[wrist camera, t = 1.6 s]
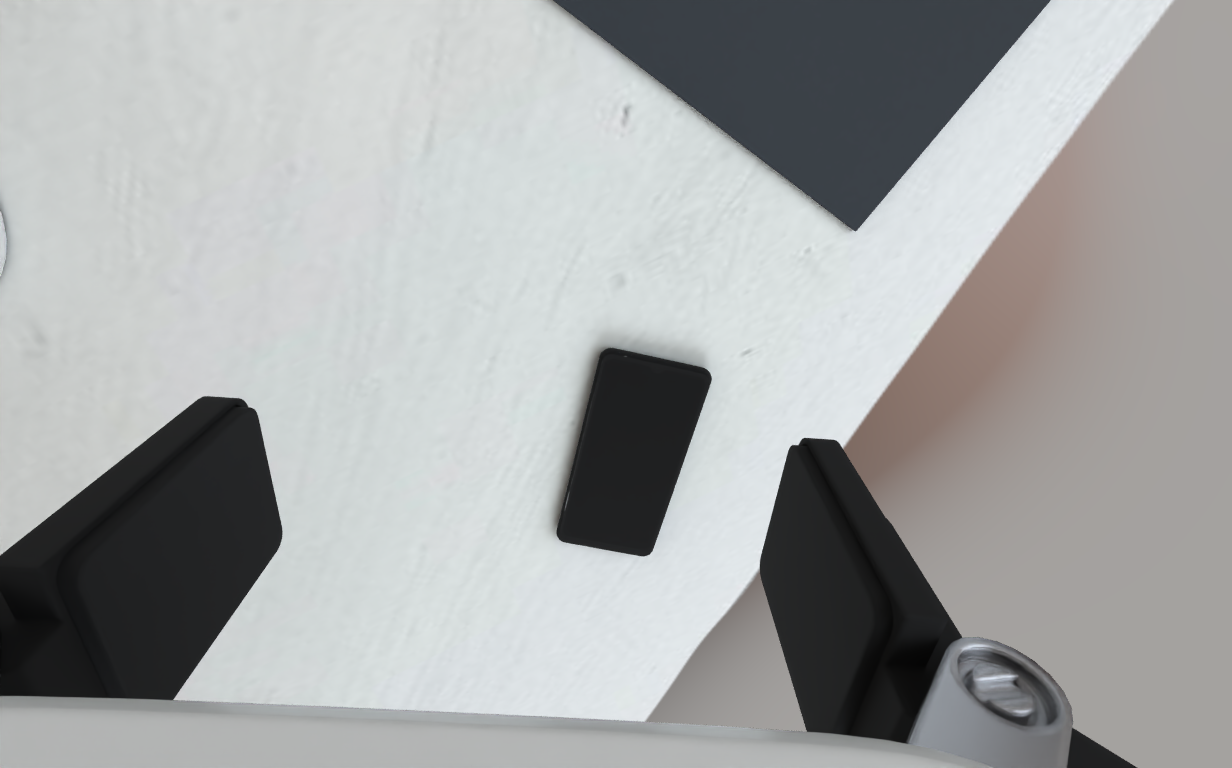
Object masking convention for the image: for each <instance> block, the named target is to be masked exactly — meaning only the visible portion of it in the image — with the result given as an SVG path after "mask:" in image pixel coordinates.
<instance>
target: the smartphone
mask: <svg viewBox="0 0 1232 768" xmlns="http://www.w3.org/2000/svg"><path fill="white" fill-rule="evenodd" d="M711 380H712V378H711V374H710V372H709V371H708V370H707V369H705V368H702V367H698V366H693V365H689V364H684V363H680V362H675V361H670V360H666V359H661V358H657V357H652V356H647V355H643V354H638V353H634V352H629V351H624V350H620V349H615V348H608V349H606V350H604V351H603V352H602V353H601V355H600V357H599V361H598V365H597V369H596V373H595V377H594V381H593V385H592V389H591V393H590V397H589V401H588V405H587V409H586V413H585V418H584V422H583V426H582V430H581V434H580V438H579V442H578V446H577V450H576V454H575V458H574V462H573V466H572V470H571V474H570V478H569V482H568V486H567V491H566V495H565V499H564V503H563V507H562V511H561V515H560V519H559V523H558V528H557V537H558V538H559V540H561V541H562V542H566V543H571V544H577V545H582V546H588V547H593V548H599V549H604V550H610V551H615V552H621V553H626V554H632V555H637V556H647V555H649V554H650V553H651V552H652V551H653V548H654V545H655V542H656V540H657V537H658V534H659V531H660V528H661V525H662V522H663V520H664V517H665V514H666V511H667V508H668V505H669V502H670V499H671V497H672V494H673V491H674V488H675V485H676V482H677V479H678V476H679V474H680V471H681V468H682V465H683V462H684V459H685V456H686V453H687V450H688V448H689V445H690V442H691V439H692V436H693V433H694V430H695V427H696V425H697V422H698V419H699V416H700V413H701V410H702V407H703V404H704V401H705V399H706V396H707V393H708V390H709V387H710V384H711Z"/></svg>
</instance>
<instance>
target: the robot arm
mask: <svg viewBox="0 0 1232 768" xmlns="http://www.w3.org/2000/svg"><path fill="white" fill-rule="evenodd" d="M6 245H7V237H6V232H5V227H4V222H3V217H2V214H1V211H0V276H1V274H2V271H3V267H4V264H5V260H6ZM281 540H282V525H281V521H280V516H279V511H278V507H277V502H276V497H275V493H274V488H273V484H272V479H271V474H270V470H269V465H268V460H267V456H266V451H265V446H264V442H263V437H262V433H261V428H260V423H259V419H258V415H257V412H256V411H255V410H254V409H253V408H248V405H247V404H246V402H245V401H244V400H242V399H239V398H225V397H210V396H205V397H202V398H200V399H198V400H197V401H195V402H194V403H193V404H192V405H190V406H189V407H188V408H187V409H185V410H184V411H183V412H182V413H180V414H179V415H178V416H176V417H175V418H174V419H173V420H171V421H170V422H169V423H168V424H166V425H165V426H164V427H163V428H161V429H160V430H159V431H157V432H156V433H155V434H154V435H152V436H151V437H150V438H149V439H147V440H146V441H145V442H144V443H142V444H141V445H140V446H138V447H137V448H136V449H135V450H133V451H132V452H131V453H130V454H128V455H127V456H126V457H124V458H123V459H122V460H121V461H119V462H118V463H117V464H116V465H114V466H113V467H112V468H111V469H109V470H108V471H107V472H105V473H104V474H103V475H102V476H100V477H99V478H98V479H97V480H95V481H94V482H93V483H92V484H90V485H89V486H88V487H86V488H85V489H84V490H83V491H81V492H80V493H79V494H78V495H76V496H75V497H74V498H73V499H71V500H70V501H69V502H67V503H66V504H65V505H64V506H62V507H61V508H60V509H59V510H57V511H56V512H55V513H54V514H52V515H51V516H50V517H48V518H47V519H46V520H45V521H43V522H42V523H41V524H40V525H38V526H37V527H36V528H35V529H33V530H32V531H31V532H29V533H28V534H27V535H26V536H24V537H23V538H22V539H21V540H19V541H18V542H17V543H16V544H14V545H13V546H12V547H10V548H9V549H8V550H7V551H5V552H4V553H3V554H2V555H0V768H1137V767H1135V766H1133V765H1132V764H1130V763H1129V762H1127V761H1125V760H1124V759H1122V758H1121V757H1119V756H1117V755H1115V754H1114V753H1112V752H1111V751H1109V750H1108V749H1106V748H1104V747H1103V746H1101V745H1099V744H1098V743H1096V742H1094V741H1093V740H1091V739H1090V738H1088V737H1086V736H1085V735H1083V734H1081V733H1080V732H1078V731H1077V730H1075V729H1073V728H1072V725H1073V717H1072V708H1071V705H1070V703H1069V701H1068V699H1067V697H1066V695H1065V693H1064V691H1063V690H1062V689H1061V687H1060V686H1059V685H1058V684H1057V683H1056V681H1055V680H1054V679H1053V678H1052V676H1051V675H1050V674H1049V673H1047V672H1046V671H1045V670H1044V669H1043V668H1042V667H1040V666H1039V665H1038V664H1037V663H1036V662H1035V661H1033V660H1032V659H1030V658H1029V657H1027V656H1025V655H1023V654H1022V653H1021V652H1019V651H1017V650H1015V649H1013V648H1011V647H1009V646H1007V645H1004V644H1002V643H999V642H997V641H993V640H989V639H984V638H980V637H968V638H962V636H961V634H960V633H959V631H958V630H957V628H956V627H955V625H954V623H953V622H952V620H951V619H950V617H949V615H948V614H947V612H946V611H945V609H944V607H943V606H942V604H941V602H940V601H939V599H938V598H937V596H936V595H935V593H934V591H933V590H932V588H931V587H930V585H929V583H928V582H927V580H926V579H925V577H924V576H923V574H922V572H921V571H920V569H919V567H918V566H917V564H916V563H915V561H914V559H913V558H912V556H911V555H910V553H909V551H908V550H907V548H906V547H905V545H904V543H903V542H902V540H901V539H900V537H899V535H898V534H897V532H896V531H895V529H894V527H893V526H892V524H891V523H890V522H889V521H888V520H887V518H885V516H884V515H883V513H882V511H881V510H880V508H879V507H878V505H877V503H876V502H875V500H874V499H873V497H872V495H871V494H870V492H869V491H868V489H867V487H866V486H865V484H864V482H863V481H862V479H861V478H860V476H859V475H858V473H857V471H856V470H855V468H854V466H853V465H852V463H851V462H850V460H849V458H848V457H847V455H846V453H845V452H844V450H843V449H842V447H841V445H840V444H839V443H838V442H837V441H836V440H828V439H813V438H804V439H802V440H801V442H800V443H799V445H792V446H791V447H790V449H789V451H788V454H787V458H786V462H785V466H784V470H783V474H782V477H781V481H780V485H779V489H778V493H777V497H776V500H775V504H774V508H773V512H772V516H771V520H770V524H769V527H768V531H767V535H766V539H765V543H764V547H763V551H762V554H761V559H760V575H761V580H762V583H763V586H764V590H765V593H766V596H767V600H768V603H769V606H770V610H771V613H772V616H773V620H774V623H775V626H776V630H777V633H778V637H779V640H780V643H781V646H782V650H783V653H784V657H785V660H786V663H787V667H788V670H789V673H790V676H791V680H792V683H793V687H794V690H795V693H796V697H797V700H798V703H799V706H800V710H801V713H802V716H803V720H804V723H805V727H806V730H807V732H802V731H788V730H773V729H759V728H745V727H729V726H714V725H695V724H675V723H657V722H638V721H619V720H600V719H580V718H561V717H542V716H520V715H499V714H478V713H457V712H436V711H414V710H392V709H370V708H348V707H326V706H301V705H277V704H252V703H228V702H203V701H179V700H173V699H174V698H175V696H176V695H177V693H178V692H179V691H180V689H181V688H182V686H183V685H184V683H185V682H186V681H187V679H188V678H189V676H190V675H191V673H192V672H193V671H194V669H195V668H196V666H197V665H198V663H199V662H200V661H201V659H202V658H203V656H204V655H205V653H206V652H207V650H208V649H209V648H210V646H211V645H212V643H213V642H214V640H215V639H216V638H217V636H218V635H219V633H220V632H221V630H222V629H223V628H224V626H225V625H226V623H227V622H228V620H229V619H230V618H231V616H232V615H233V613H234V612H235V610H236V609H237V608H238V606H239V605H240V603H241V602H242V600H243V599H244V598H245V596H246V595H247V593H248V592H249V590H250V589H251V588H252V586H253V585H254V583H255V582H256V580H257V579H258V578H259V576H260V575H261V573H262V572H263V570H264V569H265V567H266V566H267V565H268V563H269V562H270V560H271V559H272V557H273V556H274V555H275V553H276V552H277V550H278V548H279V546H280V543H281Z"/></svg>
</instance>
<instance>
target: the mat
mask: <svg viewBox="0 0 1232 768" xmlns="http://www.w3.org/2000/svg"><path fill="white" fill-rule="evenodd" d="M554 1H555V2H556V3H557V4H559V5H560V6H561V7H563V8H564V9H565V10H567V11H568V12H569V13H571V14H572V15H573V16H574V17H576V18H577V19H578V20H580V21H581V22H582V23H584V24H585V25H586V26H588V27H589V28H590V29H591V30H593V31H594V32H595V33H597V34H598V35H599V36H601V37H602V38H603V39H605V40H606V41H607V42H608V43H610V44H611V45H612V46H614V47H615V48H616V49H618V50H619V51H620V52H621V53H623V54H624V55H625V56H627V57H628V58H629V59H631V60H632V61H633V62H635V63H636V64H637V65H638V66H640V67H641V68H642V69H644V70H645V71H646V72H648V73H649V74H650V75H652V76H653V77H654V78H655V79H657V80H658V81H659V82H661V83H662V84H663V85H665V86H666V87H667V88H669V89H670V90H671V91H672V92H674V93H675V94H676V95H678V96H679V97H680V98H682V99H683V100H684V101H686V102H687V103H688V104H689V105H691V106H692V107H693V108H695V109H696V110H697V111H699V112H700V113H701V114H703V115H704V116H705V117H706V118H708V119H709V120H710V121H712V122H713V123H714V124H716V125H717V126H718V127H719V128H721V129H722V130H723V131H725V132H726V133H727V134H729V135H730V136H731V137H733V138H734V139H735V140H736V141H738V142H739V143H740V144H742V145H743V146H744V147H746V148H747V149H748V150H750V151H751V152H752V153H753V154H755V155H756V156H757V157H759V158H760V159H761V160H763V161H764V162H765V163H767V164H768V165H769V166H770V167H772V168H773V169H774V170H776V171H777V172H778V173H780V174H781V175H782V176H784V177H785V178H786V179H787V180H789V181H790V182H791V183H793V184H794V185H795V186H797V187H798V188H799V189H801V190H802V191H803V192H804V193H806V194H807V195H808V196H810V197H811V198H812V199H814V200H815V201H816V202H817V203H819V204H820V205H821V206H823V207H824V208H825V209H827V210H828V211H829V212H831V213H832V214H833V215H834V216H836V217H837V218H838V219H840V220H841V221H842V222H844V223H845V224H846V225H848V226H849V227H850V228H851V229H853V230H854V231H857V230H858V228H859V227H860V226H861V225H862V224H863V222H864V221H865V220H866V219H867V218H868V217H869V215H870V214H871V213H872V212H873V211H874V209H875V208H876V207H877V206H878V205H879V203H880V202H881V201H882V200H883V199H884V198H885V196H886V195H887V194H888V193H889V192H890V190H891V189H892V188H893V187H894V186H895V184H896V183H897V182H898V181H899V180H900V179H901V177H902V176H903V175H904V174H905V173H906V171H907V170H908V169H909V168H910V167H911V165H912V164H913V163H914V162H915V161H916V160H917V158H918V157H919V156H920V155H921V154H922V152H923V151H924V150H925V149H926V148H927V146H928V145H929V144H930V143H931V142H932V141H933V139H934V138H935V137H936V136H937V135H938V133H939V132H940V131H941V130H942V129H943V127H944V126H945V125H946V124H947V123H948V122H949V120H950V119H951V118H952V117H953V116H954V114H955V113H956V112H957V111H958V110H959V108H960V107H961V106H962V105H963V104H964V102H965V101H966V100H967V99H968V98H969V97H970V95H971V94H972V93H973V92H974V91H975V89H976V88H977V87H978V86H979V85H980V83H981V82H982V81H983V80H984V79H985V78H986V76H987V75H988V74H989V73H990V72H991V70H992V69H993V68H994V67H995V66H996V64H997V63H998V62H999V61H1000V60H1001V59H1002V57H1003V56H1004V55H1005V54H1006V53H1007V51H1008V50H1009V49H1010V48H1011V47H1012V45H1013V44H1014V43H1015V42H1016V41H1017V40H1018V38H1019V37H1020V36H1021V35H1022V34H1023V32H1024V31H1025V30H1026V29H1027V28H1028V26H1029V25H1030V24H1031V23H1032V22H1033V21H1034V19H1035V18H1036V17H1037V16H1038V15H1039V13H1040V12H1041V11H1042V10H1043V9H1044V7H1045V6H1046V5H1047V4H1048V3H1049V2H1050V0H554Z"/></svg>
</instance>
